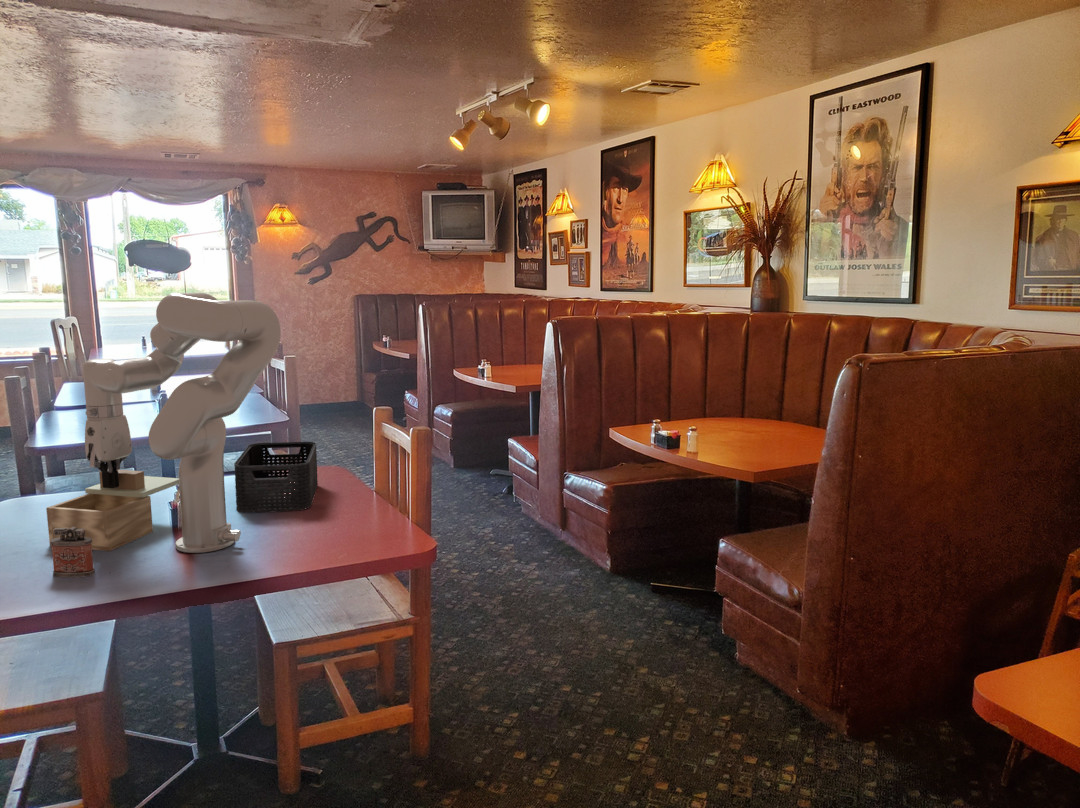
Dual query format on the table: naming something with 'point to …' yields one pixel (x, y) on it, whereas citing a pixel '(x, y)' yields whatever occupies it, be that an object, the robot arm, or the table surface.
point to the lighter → (72, 553)
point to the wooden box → (103, 519)
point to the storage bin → (275, 478)
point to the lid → (134, 485)
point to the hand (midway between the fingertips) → (111, 487)
